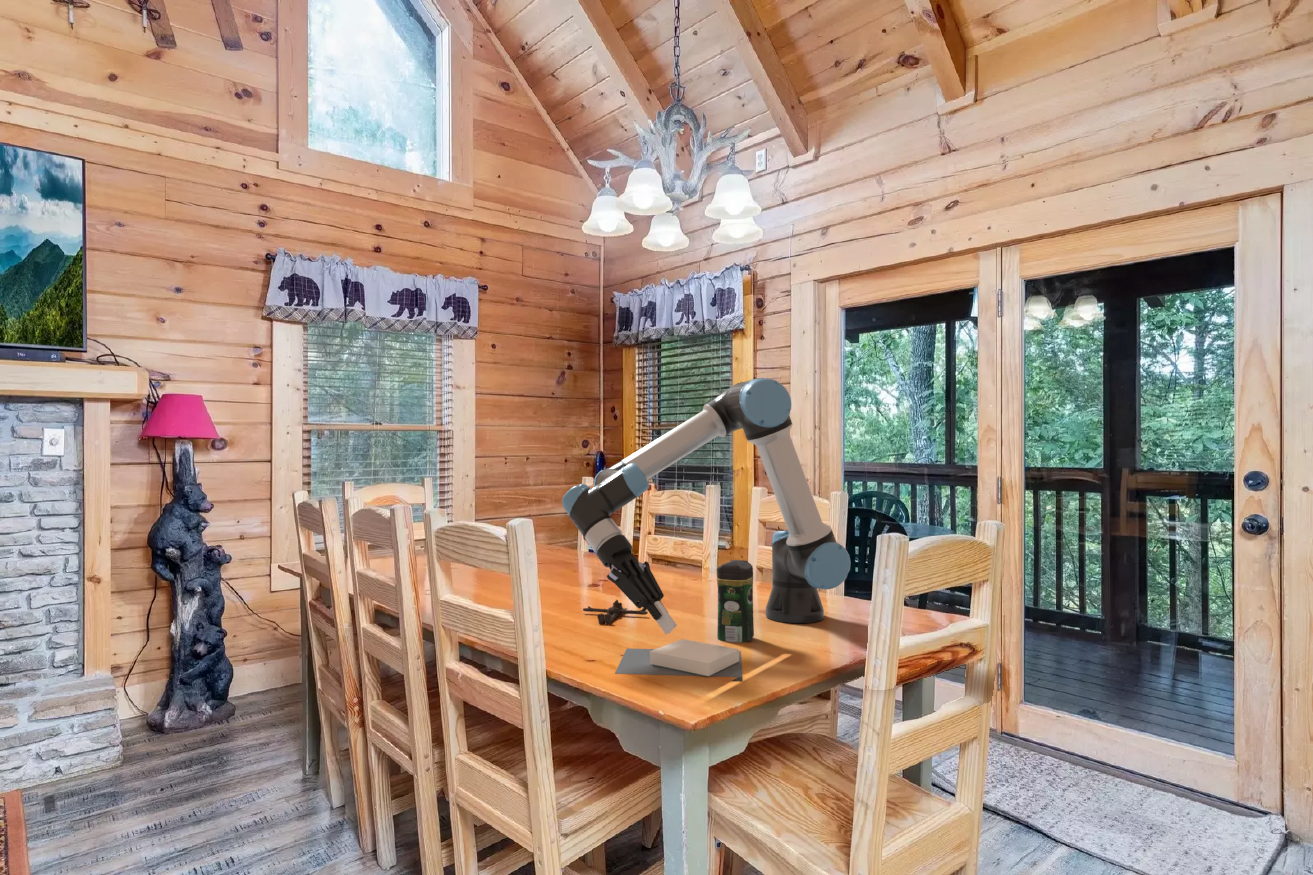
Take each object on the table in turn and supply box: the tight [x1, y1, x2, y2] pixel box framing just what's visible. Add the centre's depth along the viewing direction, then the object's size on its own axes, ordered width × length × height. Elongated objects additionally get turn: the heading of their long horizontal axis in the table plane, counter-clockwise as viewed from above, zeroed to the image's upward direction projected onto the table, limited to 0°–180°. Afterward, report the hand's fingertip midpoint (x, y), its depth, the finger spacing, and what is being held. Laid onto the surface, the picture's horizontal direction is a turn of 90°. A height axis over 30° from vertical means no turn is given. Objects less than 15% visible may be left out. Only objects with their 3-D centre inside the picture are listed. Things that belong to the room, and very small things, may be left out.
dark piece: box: [582, 599, 649, 625], centre depth 197 cm, size 18×4×14 cm
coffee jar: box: [716, 559, 755, 644], centre depth 175 cm, size 10×8×19 cm
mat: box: [614, 647, 744, 682], centre depth 155 cm, size 25×18×1 cm
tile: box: [650, 638, 740, 678], centre depth 153 cm, size 3×12×14 cm
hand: (671, 629), depth 156 cm, fingers closed
